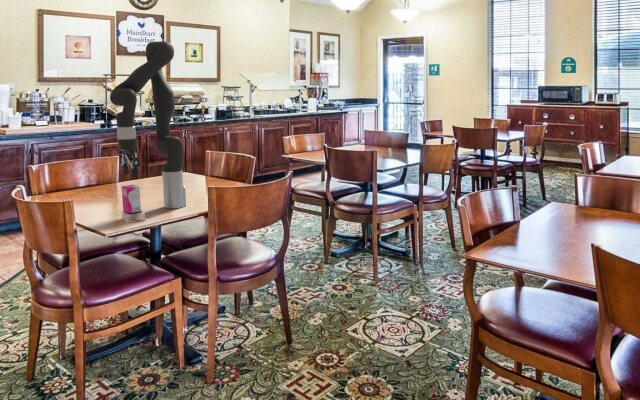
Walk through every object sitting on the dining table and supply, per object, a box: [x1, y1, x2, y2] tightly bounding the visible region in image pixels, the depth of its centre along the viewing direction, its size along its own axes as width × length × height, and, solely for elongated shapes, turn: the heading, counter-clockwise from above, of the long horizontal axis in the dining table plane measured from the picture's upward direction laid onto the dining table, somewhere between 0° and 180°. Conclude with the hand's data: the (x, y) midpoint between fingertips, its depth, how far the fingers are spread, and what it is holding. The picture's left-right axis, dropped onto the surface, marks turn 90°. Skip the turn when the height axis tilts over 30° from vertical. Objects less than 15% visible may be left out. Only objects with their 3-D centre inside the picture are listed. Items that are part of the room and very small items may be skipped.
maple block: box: [121, 209, 146, 224], centre depth 232 cm, size 8×8×4 cm
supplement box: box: [120, 184, 142, 214], centre depth 232 cm, size 6×6×12 cm
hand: (130, 175), depth 228 cm, fingers open, 8 cm apart
